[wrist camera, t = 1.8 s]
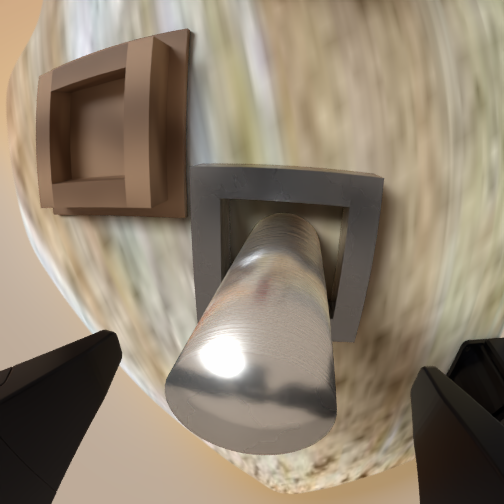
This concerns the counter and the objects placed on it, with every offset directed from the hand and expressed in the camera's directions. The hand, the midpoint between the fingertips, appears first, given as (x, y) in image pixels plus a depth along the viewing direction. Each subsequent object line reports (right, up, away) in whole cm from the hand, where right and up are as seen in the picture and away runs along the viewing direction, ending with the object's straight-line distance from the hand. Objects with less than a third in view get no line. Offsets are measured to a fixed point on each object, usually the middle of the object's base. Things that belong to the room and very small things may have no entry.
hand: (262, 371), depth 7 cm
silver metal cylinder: (+1, +3, +9) cm, 9 cm away
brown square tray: (-9, +11, +8) cm, 16 cm away
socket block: (+1, +3, +9) cm, 9 cm away
